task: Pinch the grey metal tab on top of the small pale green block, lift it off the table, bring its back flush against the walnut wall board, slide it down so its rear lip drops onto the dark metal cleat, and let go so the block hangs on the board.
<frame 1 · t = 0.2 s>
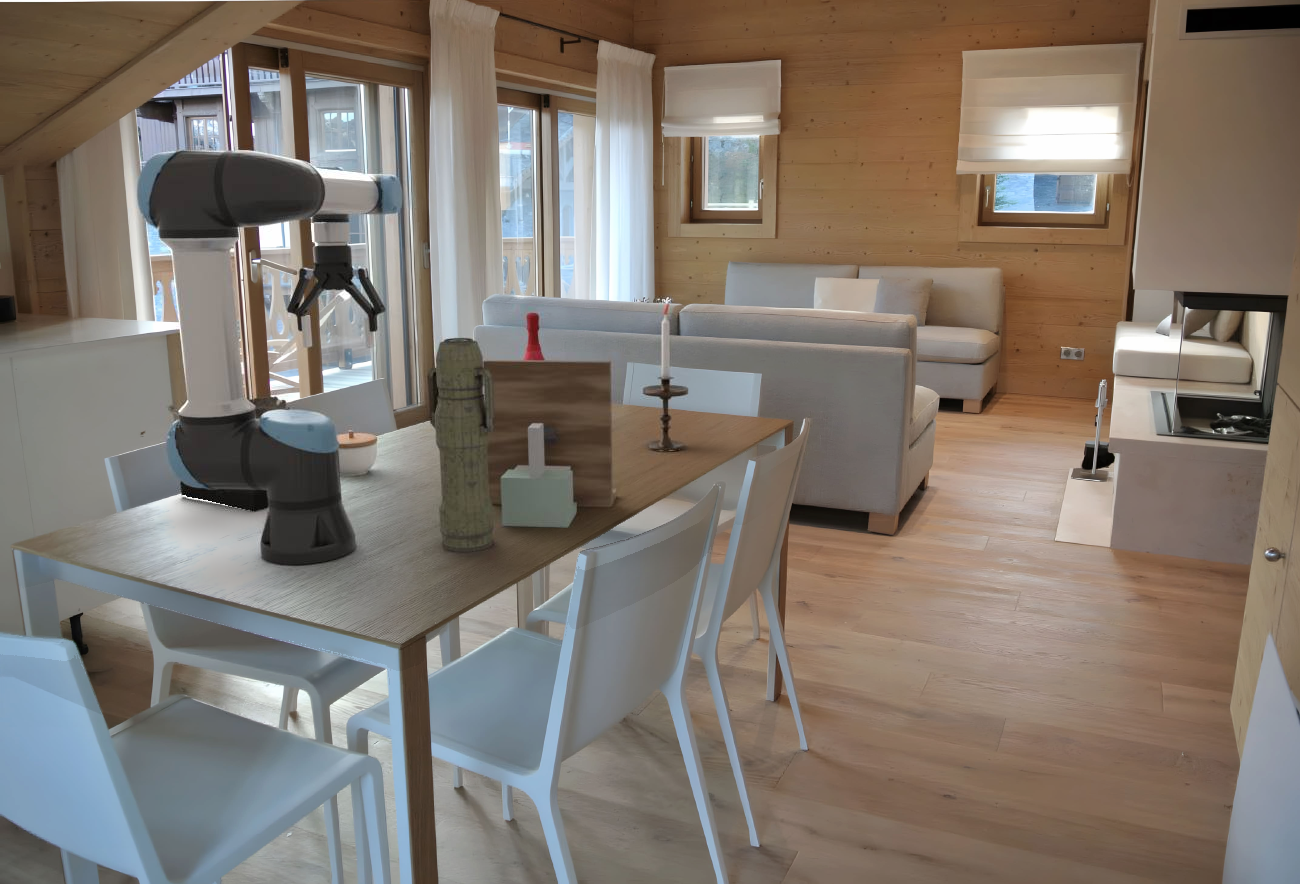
hand: (339, 347, 212), 28 cm above the table, fingers open, 13 cm apart
wall board: (551, 502, 197), on the table
lidded jar: (354, 473, 221), on the table
thermos: (467, 544, 173), on the table
red flared column: (535, 425, 271), on the table
pale green block: (538, 521, 185), on the table
coral: (238, 502, 199), on the table
candlestick: (665, 448, 244), on the table
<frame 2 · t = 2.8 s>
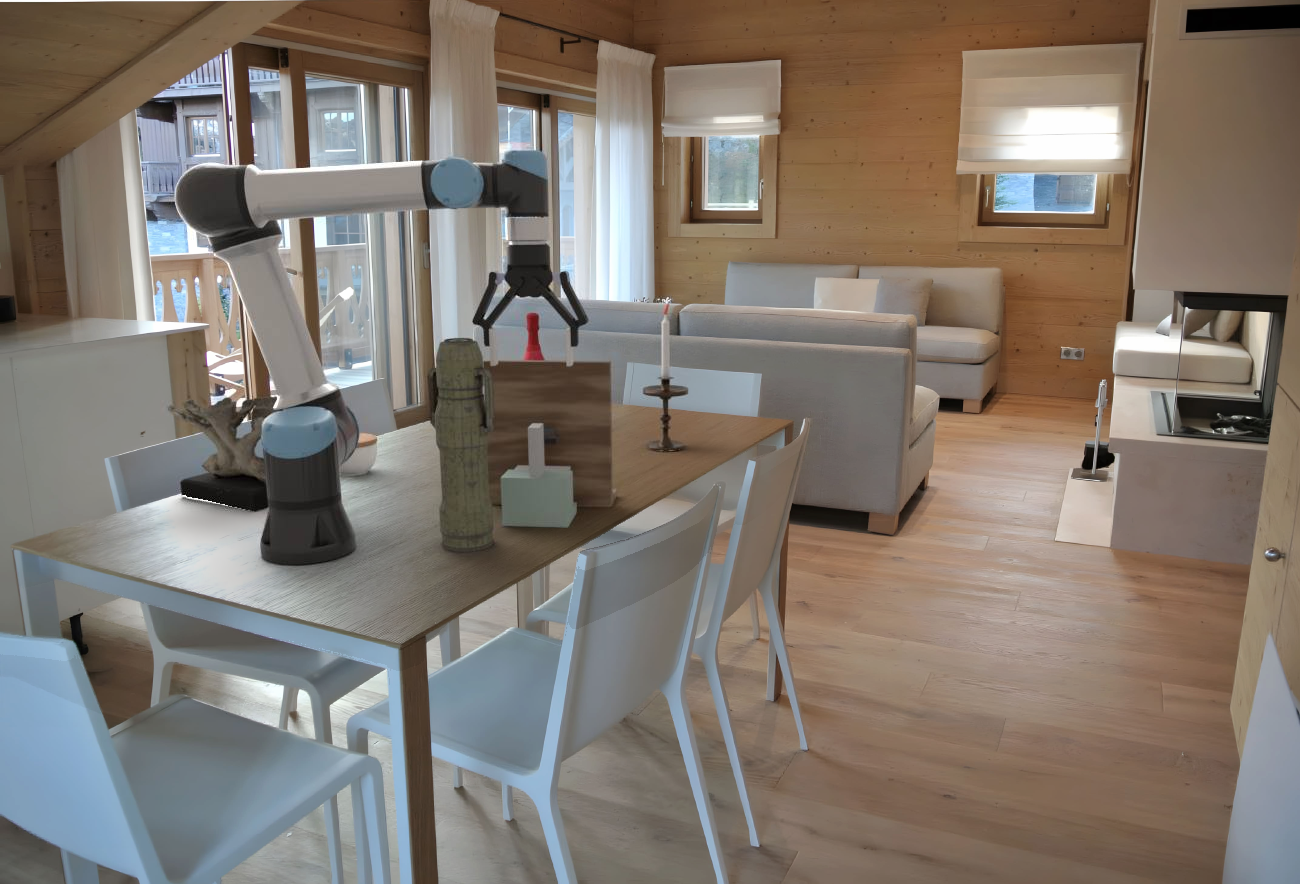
hand: (532, 365, 179), 29 cm above the table, fingers open, 13 cm apart
nothing on the table moved.
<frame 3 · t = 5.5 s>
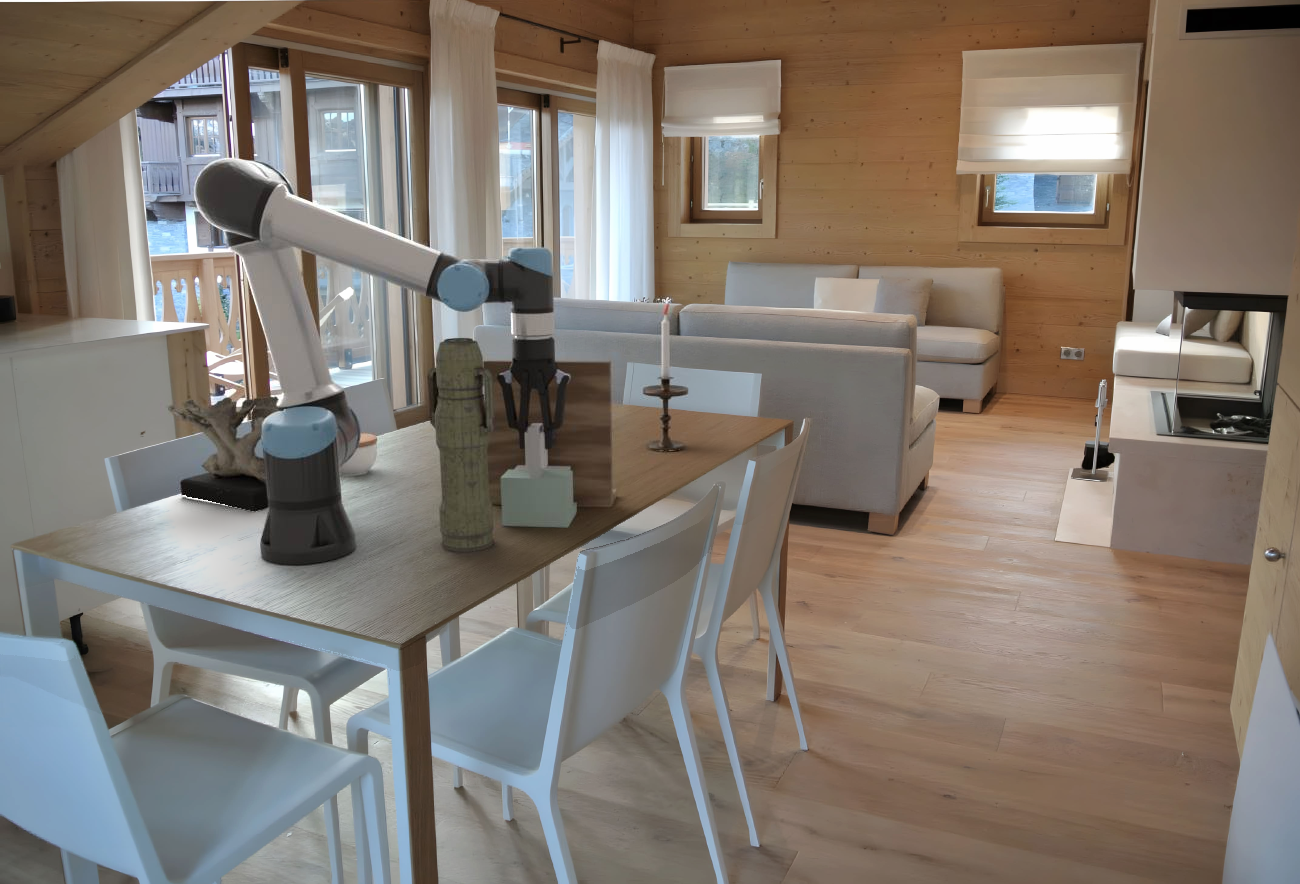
hand: (536, 466, 183), 10 cm above the table, fingers closed on pale green block, 2 cm apart
pale green block: (538, 521, 185), on the table, touching gripper
everything else where it was.
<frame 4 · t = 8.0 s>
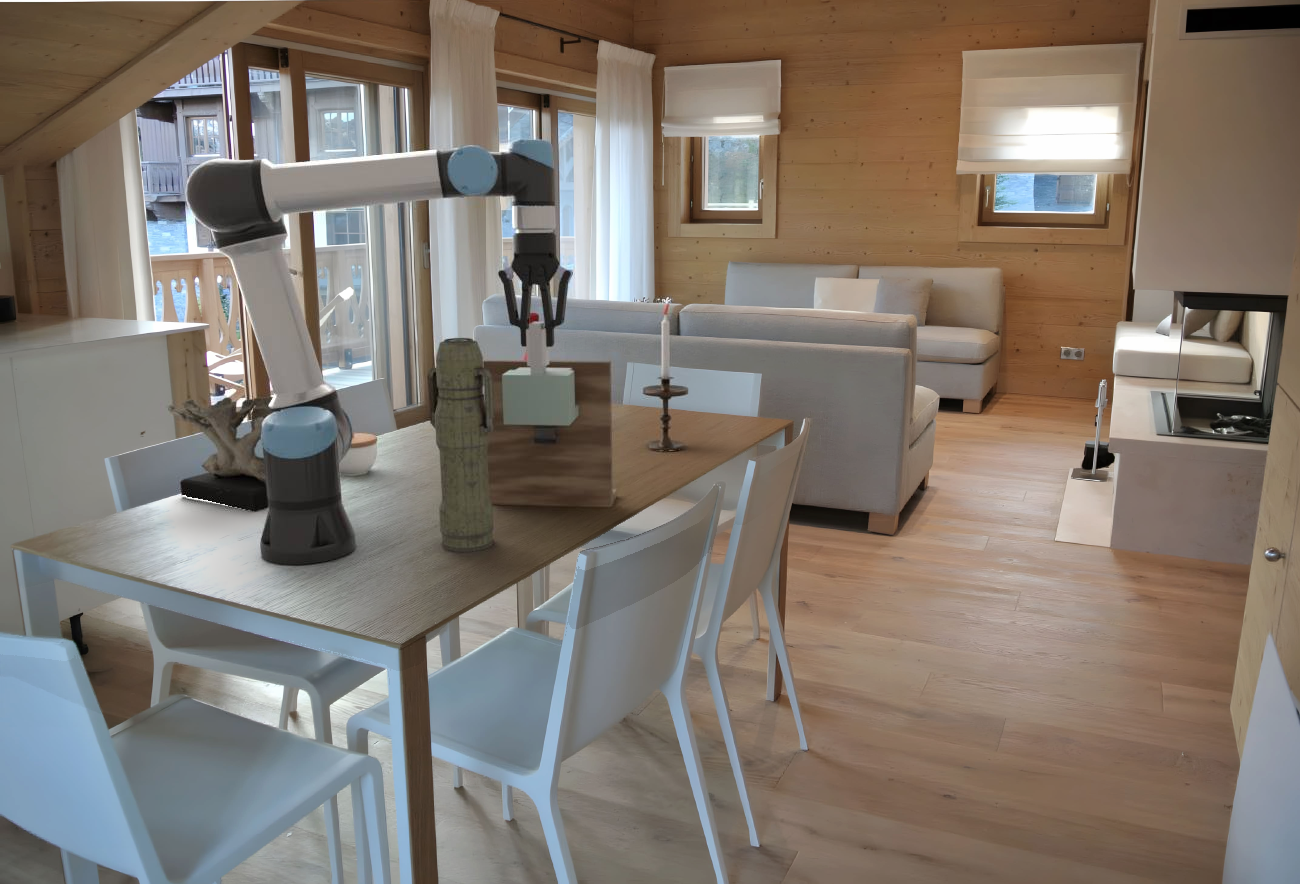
hand: (538, 364, 182), 29 cm above the table, fingers closed on pale green block, 2 cm apart
pale green block: (539, 421, 184), point 18 cm above the table, touching gripper
everything else where it was.
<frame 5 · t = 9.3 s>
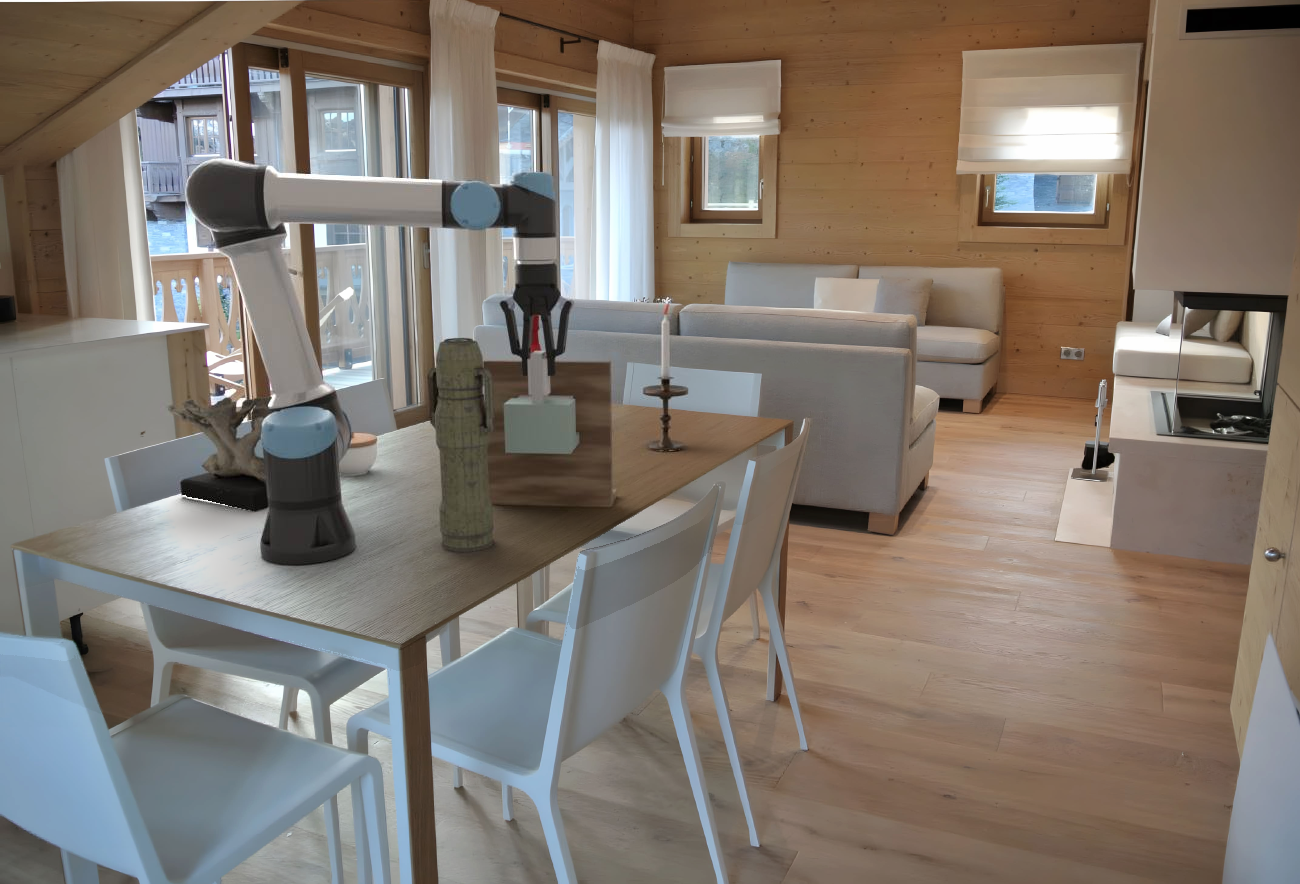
hand: (539, 393, 184), 23 cm above the table, fingers closed on pale green block, 2 cm apart
pale green block: (541, 449, 186), point 13 cm above the table, touching gripper
everything else where it was.
when the fingers open (20 cm above the table, at t = 10.6 s): pale green block stays where it is, resting on wall board.
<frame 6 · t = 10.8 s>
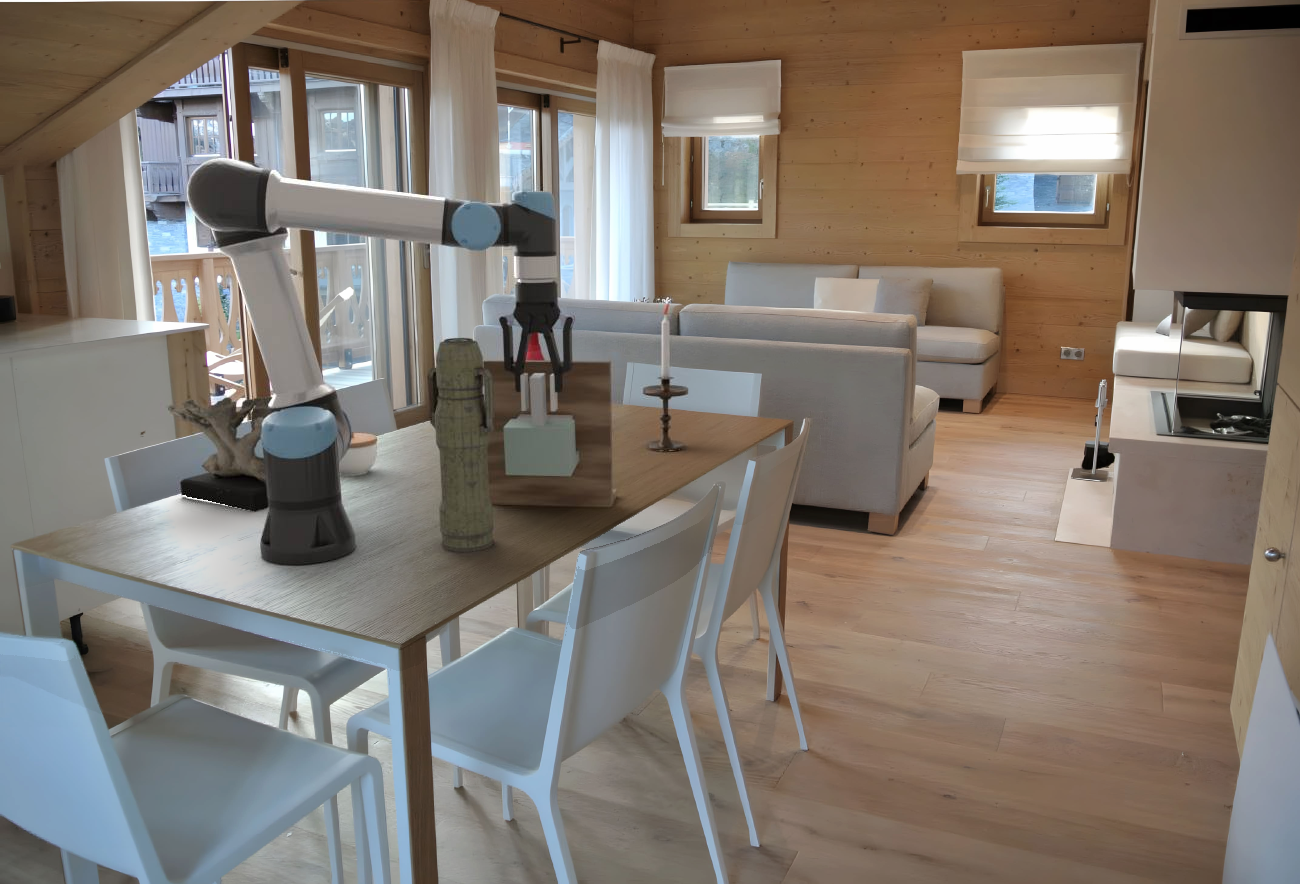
hand: (539, 409, 184), 20 cm above the table, fingers open, 5 cm apart
pale green block: (541, 470, 187), point 9 cm above the table, touching wall board
everything else where it was.
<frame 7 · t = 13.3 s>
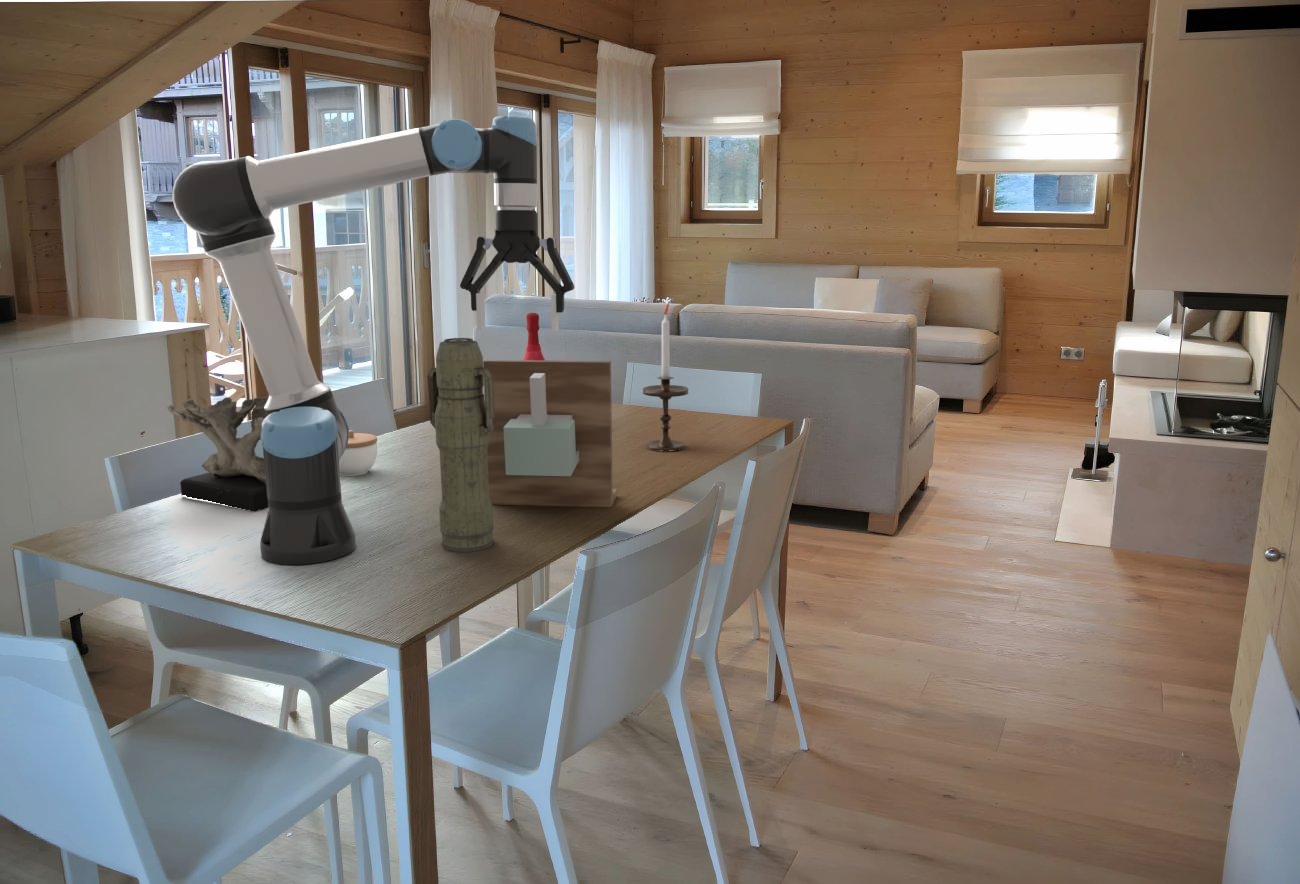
hand: (518, 330, 182), 35 cm above the table, fingers open, 13 cm apart
nothing on the table moved.
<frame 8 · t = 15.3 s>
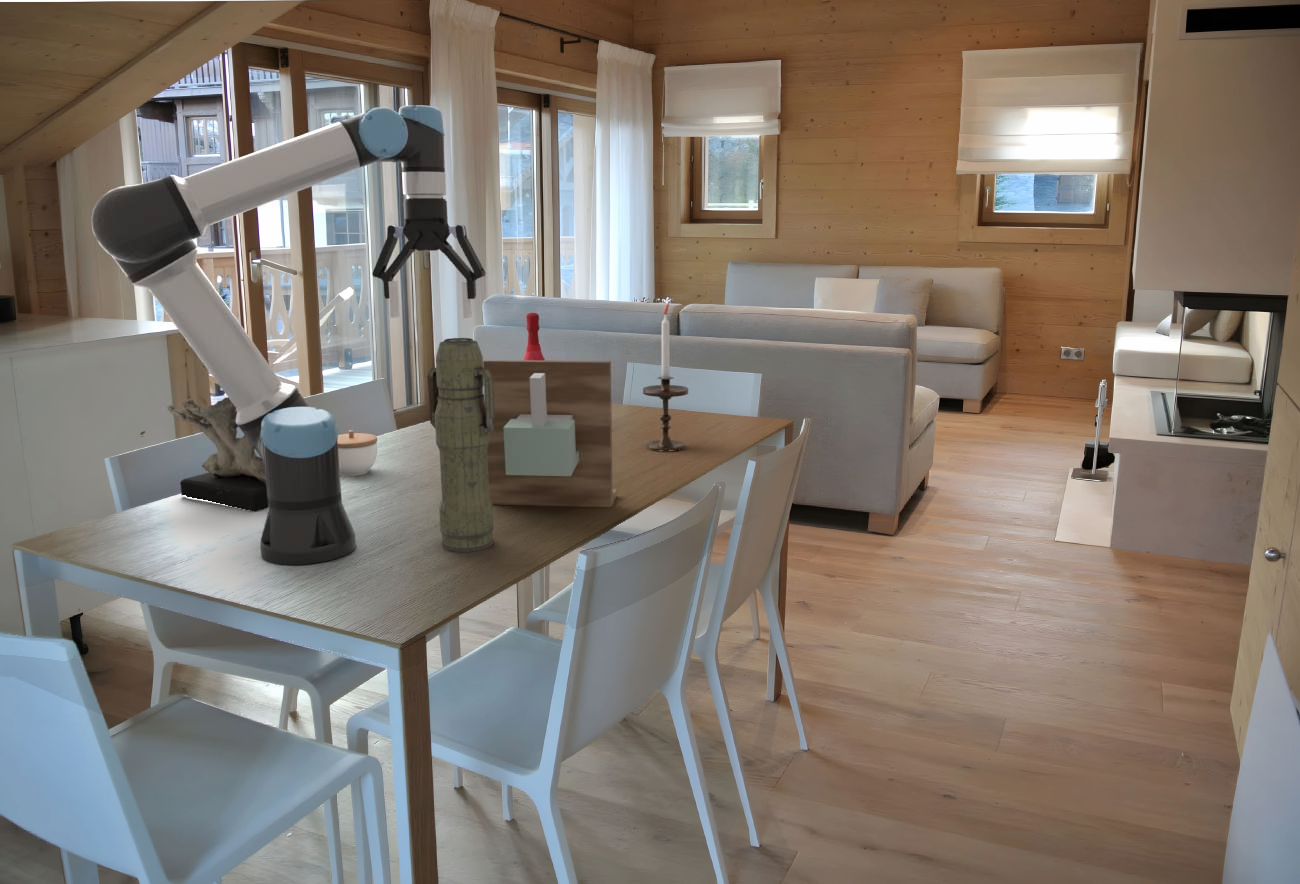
hand: (431, 317, 184), 37 cm above the table, fingers open, 13 cm apart
nothing on the table moved.
at the end: pale green block 0.4 cm from the target spot on the wall board, point 8.6 cm above the wall board's base; pale green block tilted 4°; pale green block touching wall board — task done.
